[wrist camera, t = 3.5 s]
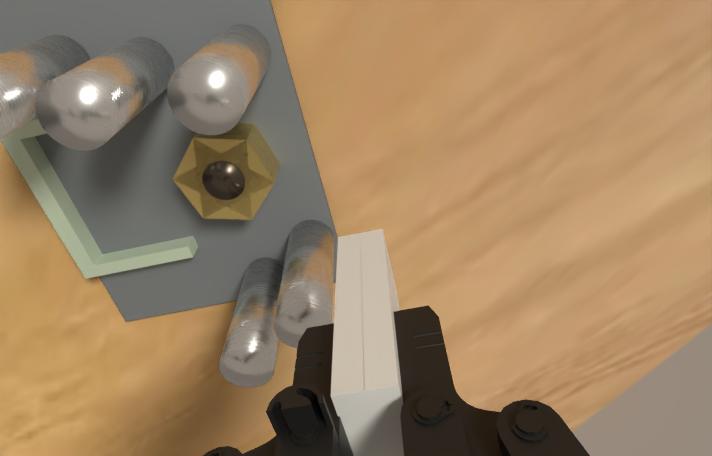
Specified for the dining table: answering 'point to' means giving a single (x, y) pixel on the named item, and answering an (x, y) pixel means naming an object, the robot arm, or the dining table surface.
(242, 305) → the spacer posts
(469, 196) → the dining table surface
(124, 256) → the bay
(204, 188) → the nut
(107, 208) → the mat
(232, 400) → the dining table surface
